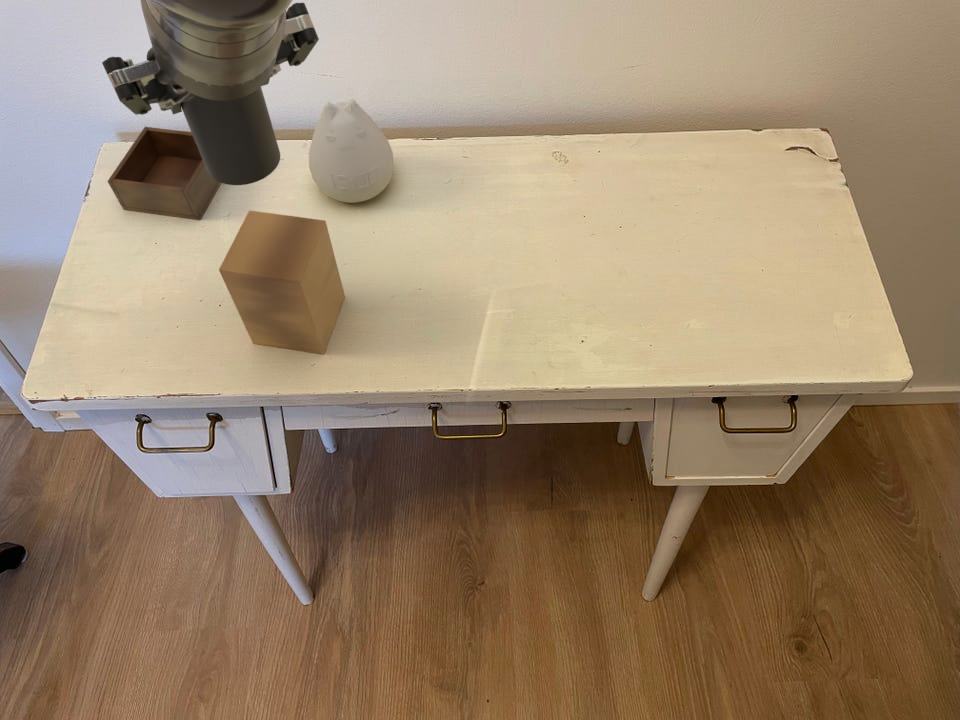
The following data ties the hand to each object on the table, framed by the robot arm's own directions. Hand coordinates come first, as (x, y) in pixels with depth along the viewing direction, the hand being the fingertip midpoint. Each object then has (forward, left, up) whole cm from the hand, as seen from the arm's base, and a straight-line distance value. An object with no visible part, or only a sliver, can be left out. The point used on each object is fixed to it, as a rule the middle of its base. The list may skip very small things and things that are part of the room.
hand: (215, 86), depth 57 cm
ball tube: (+1, -1, -6) cm, 6 cm away
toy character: (+1, +21, -29) cm, 35 cm away
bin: (-21, +16, -29) cm, 39 cm away
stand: (+1, -1, -29) cm, 29 cm away
